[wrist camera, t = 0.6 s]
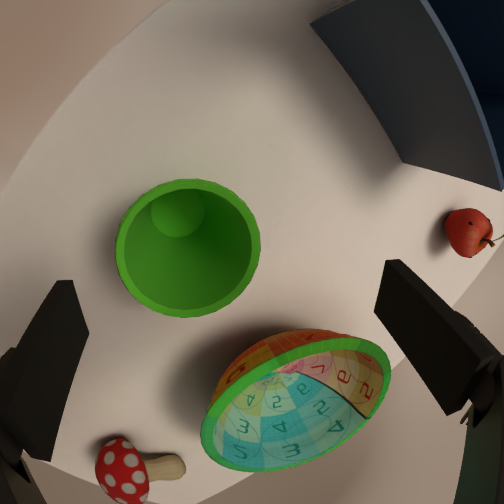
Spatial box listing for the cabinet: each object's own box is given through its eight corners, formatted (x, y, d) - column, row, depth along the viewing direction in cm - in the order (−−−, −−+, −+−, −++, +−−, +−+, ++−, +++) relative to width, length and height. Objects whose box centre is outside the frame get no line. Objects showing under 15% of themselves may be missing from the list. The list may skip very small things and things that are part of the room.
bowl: (157, 399, 36) (165, 463, 27) (251, 255, 32) (288, 306, 24) (288, 427, 46) (311, 474, 37) (377, 321, 42) (420, 363, 33)
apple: (456, 245, 42) (504, 271, 33) (430, 245, 40) (482, 274, 31) (468, 197, 39) (519, 218, 30) (442, 192, 37) (499, 214, 28)
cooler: (465, 94, 33) (549, 104, 20) (402, 163, 34) (501, 192, 21) (395, -26, 24) (481, -54, 11) (309, 24, 25) (405, -21, 12)
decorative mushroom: (211, 499, 36) (122, 520, 25) (169, 490, 42) (90, 501, 31) (200, 434, 41) (107, 441, 30) (159, 433, 47) (79, 435, 36)
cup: (199, 268, 31) (220, 334, 22) (114, 233, 28) (94, 289, 18) (242, 187, 30) (287, 220, 20) (155, 143, 26) (153, 152, 16)
